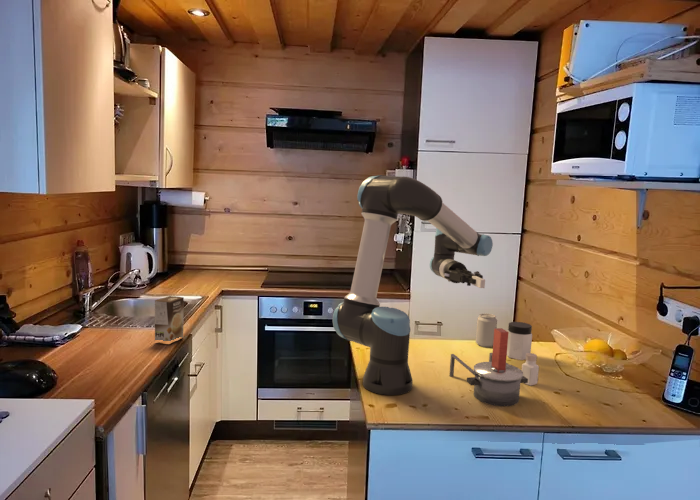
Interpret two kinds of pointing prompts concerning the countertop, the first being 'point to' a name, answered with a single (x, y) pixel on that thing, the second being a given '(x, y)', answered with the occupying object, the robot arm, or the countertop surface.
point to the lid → (499, 361)
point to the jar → (519, 340)
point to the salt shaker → (530, 369)
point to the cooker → (491, 387)
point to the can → (485, 330)
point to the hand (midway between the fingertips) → (482, 283)
